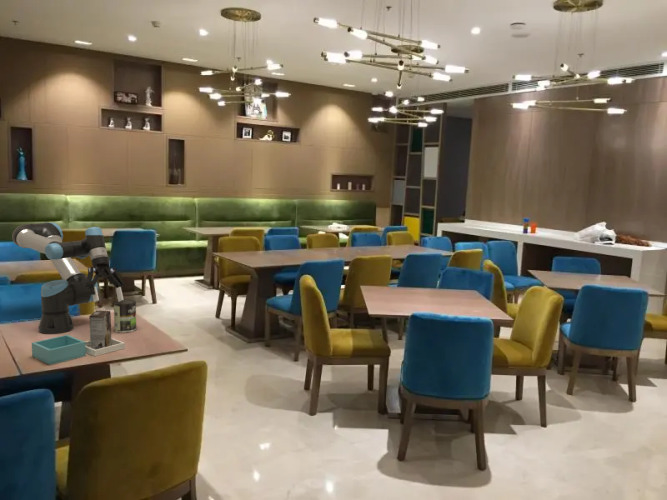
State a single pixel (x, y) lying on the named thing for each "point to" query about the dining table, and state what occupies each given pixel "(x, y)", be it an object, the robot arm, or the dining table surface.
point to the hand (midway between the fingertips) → (109, 301)
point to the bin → (58, 349)
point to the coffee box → (100, 329)
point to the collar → (115, 346)
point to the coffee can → (125, 315)
